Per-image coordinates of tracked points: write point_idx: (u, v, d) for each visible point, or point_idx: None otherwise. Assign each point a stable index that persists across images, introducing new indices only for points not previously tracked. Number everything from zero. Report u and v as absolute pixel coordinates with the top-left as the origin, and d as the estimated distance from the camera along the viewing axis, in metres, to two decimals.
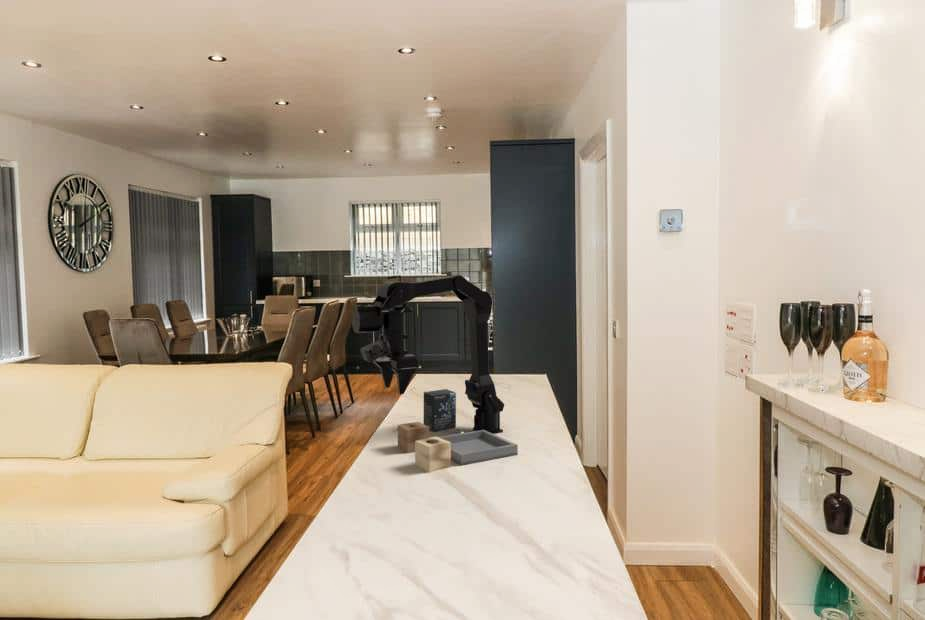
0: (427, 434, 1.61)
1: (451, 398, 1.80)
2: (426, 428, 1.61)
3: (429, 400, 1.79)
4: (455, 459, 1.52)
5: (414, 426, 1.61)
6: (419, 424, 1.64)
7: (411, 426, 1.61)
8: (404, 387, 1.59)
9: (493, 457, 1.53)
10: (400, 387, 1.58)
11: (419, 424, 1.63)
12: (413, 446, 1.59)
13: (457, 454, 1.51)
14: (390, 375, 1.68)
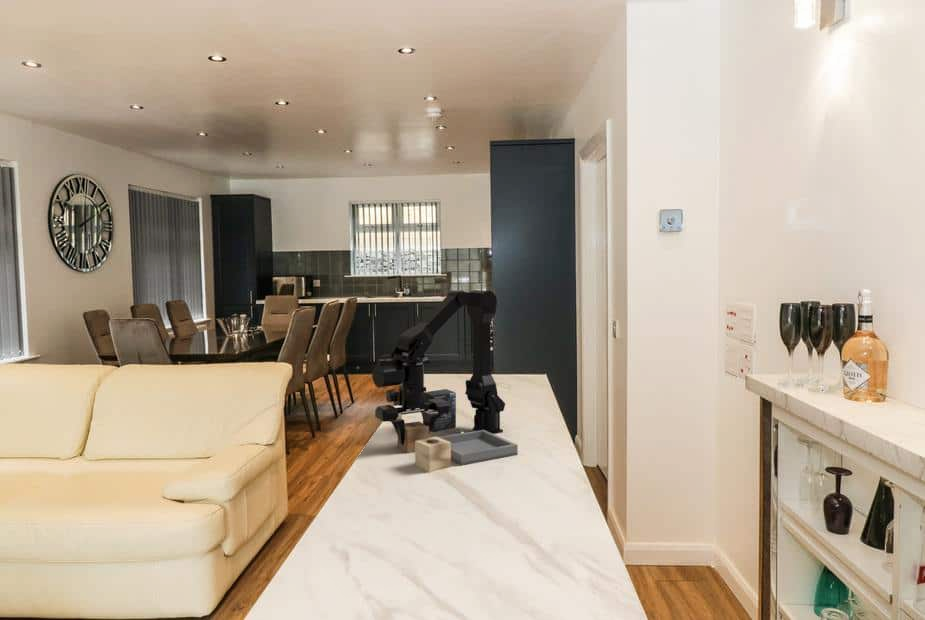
0: (427, 433, 1.61)
1: (451, 398, 1.80)
2: (426, 428, 1.61)
3: None
4: (455, 459, 1.52)
5: (414, 426, 1.61)
6: (419, 424, 1.64)
7: (411, 426, 1.61)
8: (400, 438, 1.60)
9: (493, 457, 1.53)
10: (398, 437, 1.61)
11: (419, 424, 1.63)
12: (413, 446, 1.59)
13: (457, 454, 1.51)
14: None
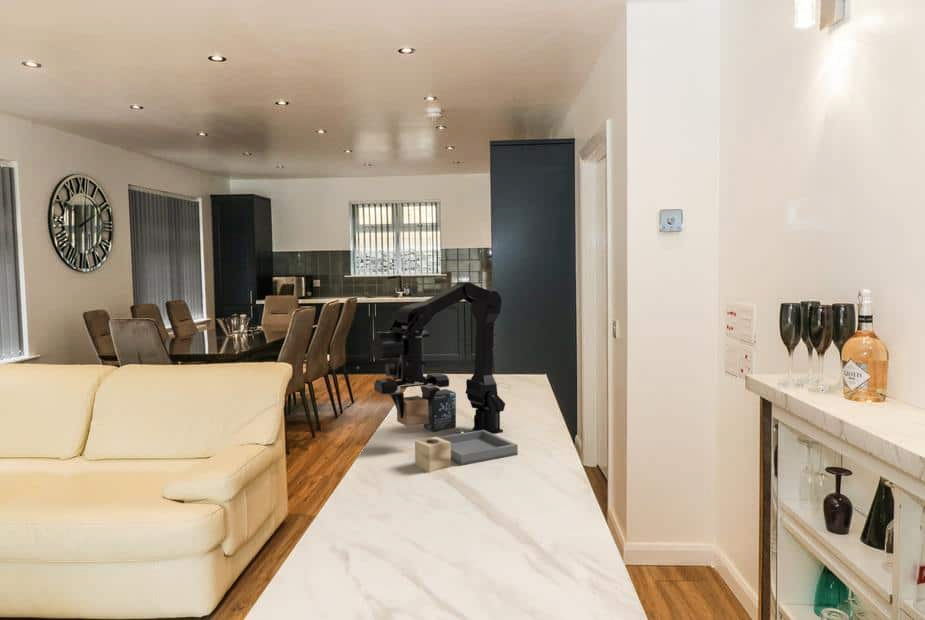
0: (427, 407, 1.60)
1: (451, 398, 1.80)
2: (425, 401, 1.60)
3: None
4: (455, 459, 1.52)
5: (413, 399, 1.61)
6: (418, 398, 1.63)
7: (410, 399, 1.61)
8: (399, 412, 1.59)
9: (493, 457, 1.53)
10: (397, 410, 1.60)
11: (419, 398, 1.63)
12: (412, 419, 1.59)
13: (457, 454, 1.51)
14: None
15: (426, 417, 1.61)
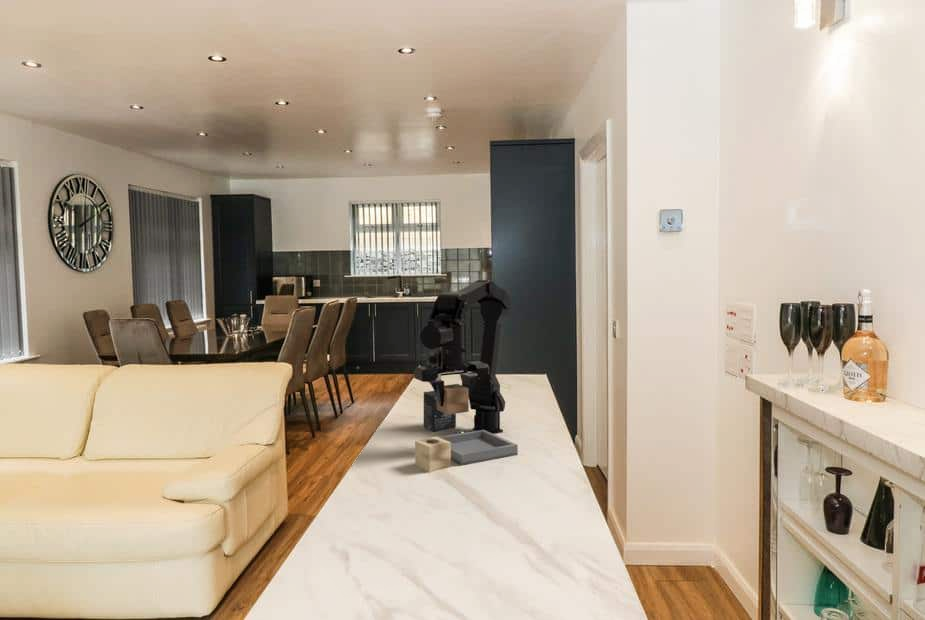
0: (467, 395, 1.58)
1: None
2: (466, 389, 1.58)
3: (429, 400, 1.79)
4: (455, 459, 1.52)
5: (453, 387, 1.59)
6: (458, 386, 1.61)
7: (450, 387, 1.59)
8: (439, 400, 1.58)
9: (493, 457, 1.53)
10: (437, 398, 1.59)
11: (459, 386, 1.61)
12: (453, 407, 1.57)
13: (457, 454, 1.51)
14: None
15: (466, 405, 1.59)
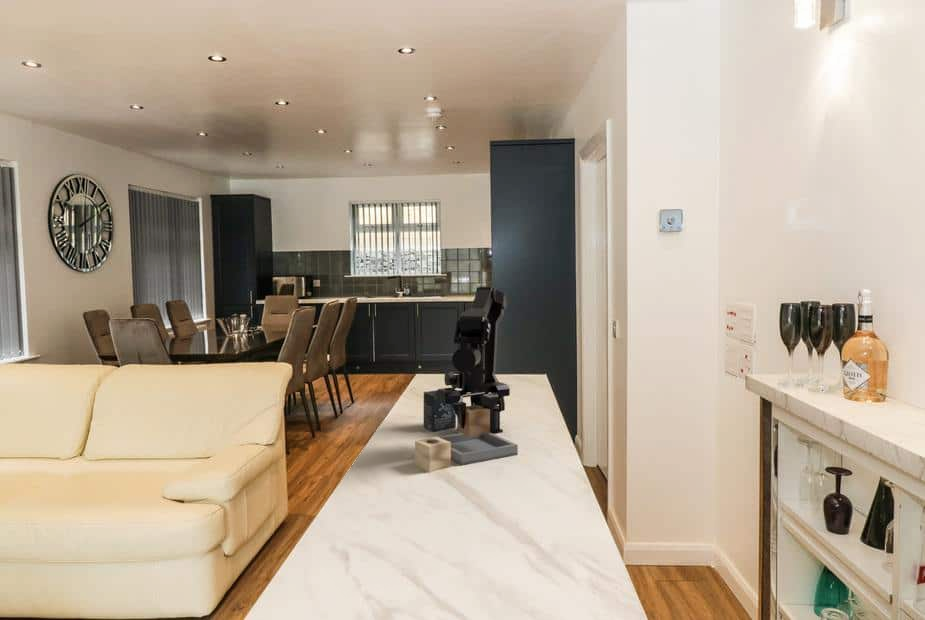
0: (488, 417, 1.58)
1: None
2: (487, 411, 1.58)
3: (429, 400, 1.79)
4: (455, 459, 1.52)
5: (475, 409, 1.58)
6: (479, 407, 1.60)
7: (472, 409, 1.58)
8: (460, 422, 1.57)
9: (493, 457, 1.53)
10: (458, 420, 1.58)
11: (479, 407, 1.60)
12: (474, 429, 1.56)
13: (457, 454, 1.51)
14: None
15: (488, 427, 1.58)
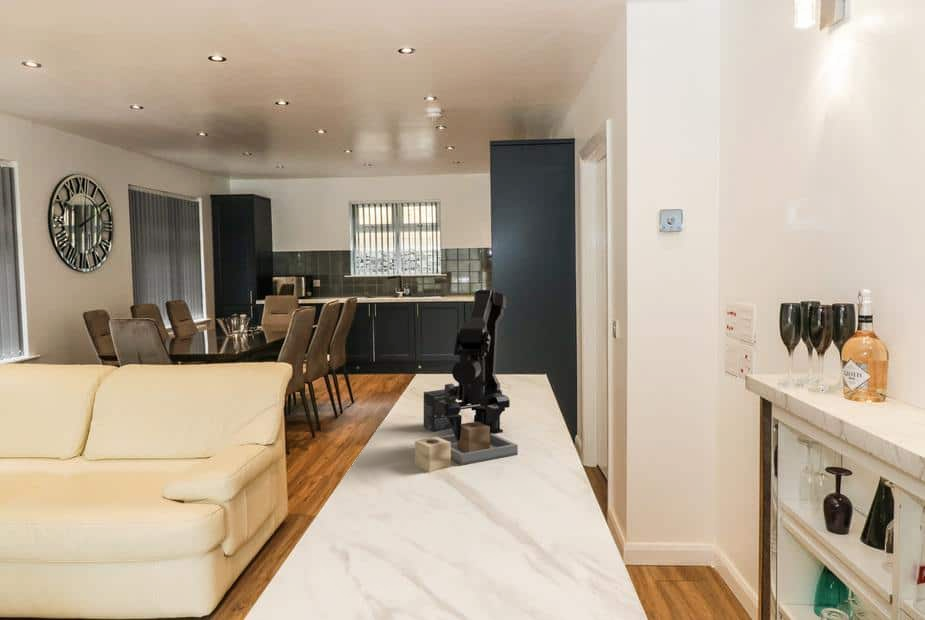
0: (488, 434, 1.58)
1: (451, 398, 1.80)
2: (487, 428, 1.58)
3: (429, 400, 1.79)
4: (455, 459, 1.52)
5: (475, 426, 1.59)
6: (479, 424, 1.61)
7: (471, 426, 1.59)
8: (456, 434, 1.57)
9: (493, 457, 1.53)
10: (454, 432, 1.58)
11: (479, 424, 1.61)
12: (474, 446, 1.56)
13: (457, 454, 1.51)
14: (490, 423, 1.61)
15: (488, 444, 1.58)
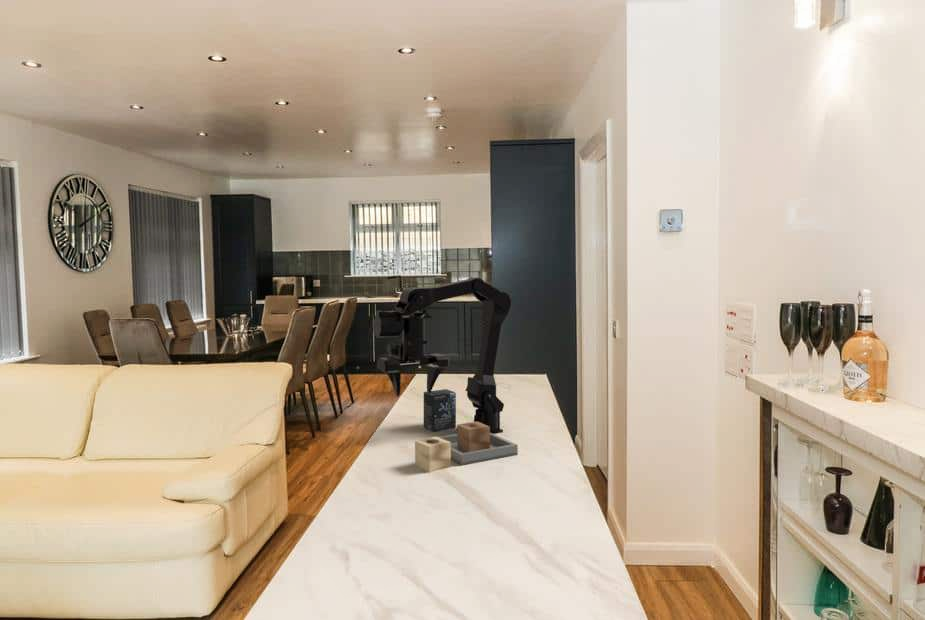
0: (488, 434, 1.58)
1: (451, 398, 1.80)
2: (487, 428, 1.58)
3: (429, 400, 1.79)
4: (455, 459, 1.52)
5: (475, 426, 1.59)
6: (479, 424, 1.61)
7: (471, 426, 1.59)
8: (396, 390, 1.64)
9: (493, 457, 1.53)
10: (394, 389, 1.65)
11: (479, 424, 1.61)
12: (474, 446, 1.56)
13: (457, 454, 1.51)
14: (430, 381, 1.68)
15: (488, 444, 1.58)
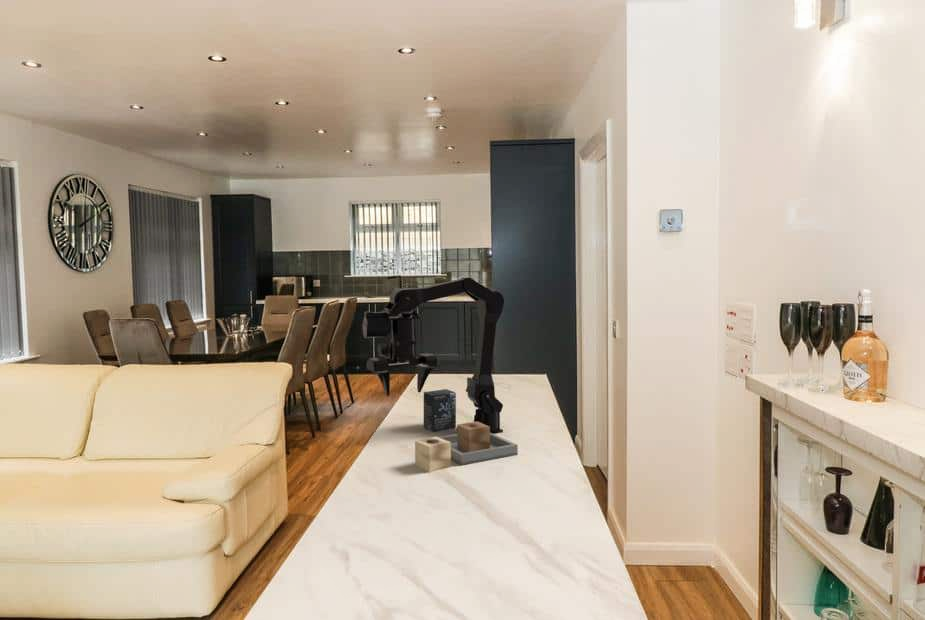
0: (488, 434, 1.58)
1: (451, 398, 1.80)
2: (487, 428, 1.58)
3: (429, 400, 1.79)
4: (455, 459, 1.52)
5: (475, 426, 1.59)
6: (479, 424, 1.61)
7: (471, 426, 1.59)
8: (385, 390, 1.66)
9: (493, 457, 1.53)
10: (384, 389, 1.67)
11: (479, 424, 1.61)
12: (474, 446, 1.56)
13: (457, 454, 1.51)
14: (420, 381, 1.70)
15: (488, 444, 1.58)
